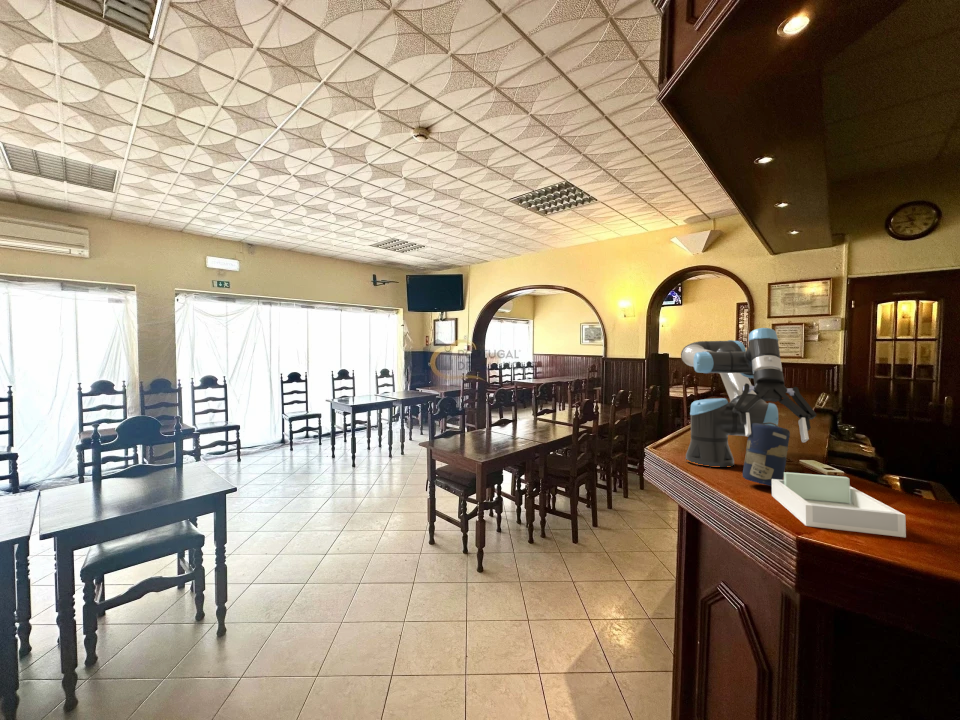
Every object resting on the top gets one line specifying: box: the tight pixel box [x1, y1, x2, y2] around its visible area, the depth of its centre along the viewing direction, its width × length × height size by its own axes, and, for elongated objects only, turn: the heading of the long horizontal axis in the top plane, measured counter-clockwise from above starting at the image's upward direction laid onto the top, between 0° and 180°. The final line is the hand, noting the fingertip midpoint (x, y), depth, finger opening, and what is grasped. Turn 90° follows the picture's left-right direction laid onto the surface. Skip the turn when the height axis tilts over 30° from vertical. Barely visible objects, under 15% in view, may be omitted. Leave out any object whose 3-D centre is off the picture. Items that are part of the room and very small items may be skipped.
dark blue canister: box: [742, 422, 791, 487], centre depth 114 cm, size 10×10×18 cm
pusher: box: [783, 471, 851, 503], centre depth 99 cm, size 2×13×6 cm, turn 69°
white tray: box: [771, 479, 907, 538], centre depth 93 cm, size 22×16×4 cm
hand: (776, 438), depth 113 cm, fingers open, 13 cm apart
